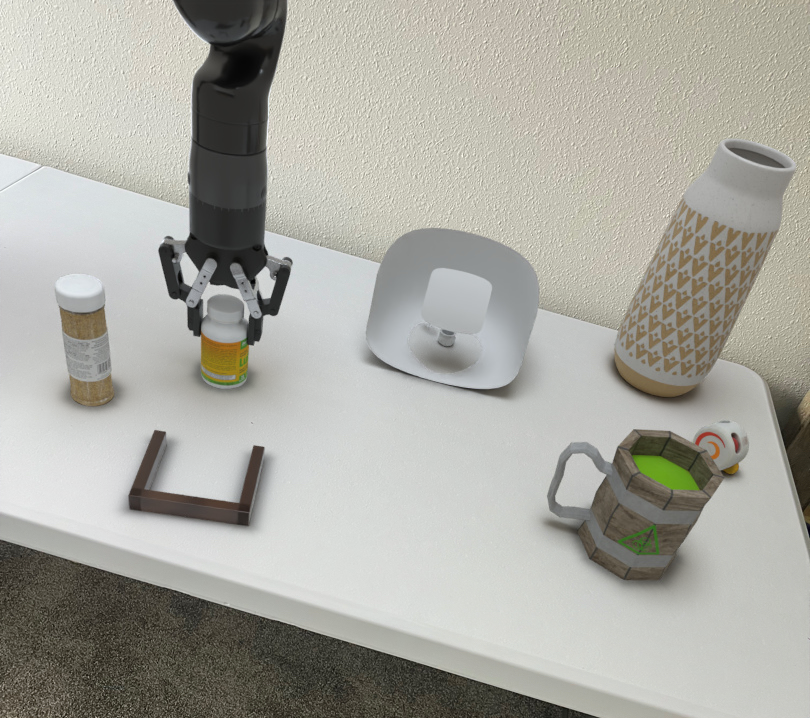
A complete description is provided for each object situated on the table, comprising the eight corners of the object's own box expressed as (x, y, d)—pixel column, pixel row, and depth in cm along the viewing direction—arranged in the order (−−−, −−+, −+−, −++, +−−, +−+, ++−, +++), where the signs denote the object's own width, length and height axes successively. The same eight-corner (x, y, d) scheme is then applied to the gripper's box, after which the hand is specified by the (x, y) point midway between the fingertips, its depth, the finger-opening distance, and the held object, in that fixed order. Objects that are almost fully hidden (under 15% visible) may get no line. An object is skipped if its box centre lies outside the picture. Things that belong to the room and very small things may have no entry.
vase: (587, 350, 113) (678, 125, 91) (666, 349, 117) (769, 134, 96) (634, 409, 104) (746, 175, 83) (716, 404, 109) (842, 182, 87)
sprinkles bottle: (95, 378, 88) (82, 267, 79) (123, 397, 87) (114, 286, 77) (61, 394, 85) (43, 280, 76) (89, 413, 84) (75, 300, 74)
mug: (672, 527, 88) (721, 445, 80) (674, 596, 81) (729, 513, 72) (538, 488, 89) (573, 402, 80) (527, 552, 81) (565, 465, 73)
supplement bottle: (246, 392, 91) (249, 319, 84) (198, 388, 90) (198, 313, 83) (248, 366, 95) (252, 293, 88) (202, 361, 94) (203, 287, 87)
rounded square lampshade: (520, 329, 114) (545, 252, 105) (510, 402, 100) (537, 320, 92) (387, 294, 114) (401, 214, 105) (358, 363, 100) (372, 277, 92)
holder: (129, 510, 75) (128, 495, 74) (155, 444, 82) (154, 429, 81) (248, 527, 76) (249, 512, 75) (263, 460, 84) (264, 446, 82)
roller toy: (703, 443, 101) (724, 407, 97) (741, 474, 98) (764, 438, 94) (681, 452, 99) (702, 415, 95) (719, 483, 96) (742, 446, 92)
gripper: (305, 187, 80) (291, 330, 92) (162, 159, 79) (167, 309, 91) (297, 218, 75) (284, 366, 87) (144, 189, 73) (152, 344, 85)
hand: (224, 336), depth 89 cm, fingers closed on supplement bottle, 5 cm apart
